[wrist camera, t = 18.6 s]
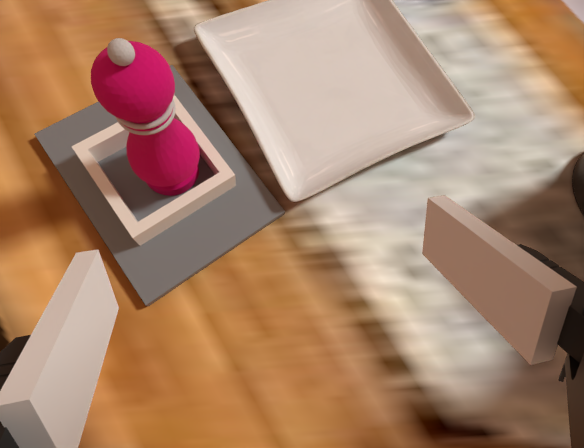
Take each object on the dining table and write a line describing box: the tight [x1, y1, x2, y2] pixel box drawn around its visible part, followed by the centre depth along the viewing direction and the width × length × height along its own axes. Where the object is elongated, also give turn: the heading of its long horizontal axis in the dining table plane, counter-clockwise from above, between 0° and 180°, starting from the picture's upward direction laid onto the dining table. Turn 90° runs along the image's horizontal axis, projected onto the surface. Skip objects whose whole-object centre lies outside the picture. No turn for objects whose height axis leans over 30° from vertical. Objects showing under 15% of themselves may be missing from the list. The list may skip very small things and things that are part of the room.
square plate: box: [194, 0, 475, 202], centre depth 51 cm, size 27×27×4 cm
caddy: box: [35, 65, 285, 306], centre depth 44 cm, size 18×24×4 cm
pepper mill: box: [91, 38, 200, 196], centre depth 36 cm, size 7×7×20 cm
